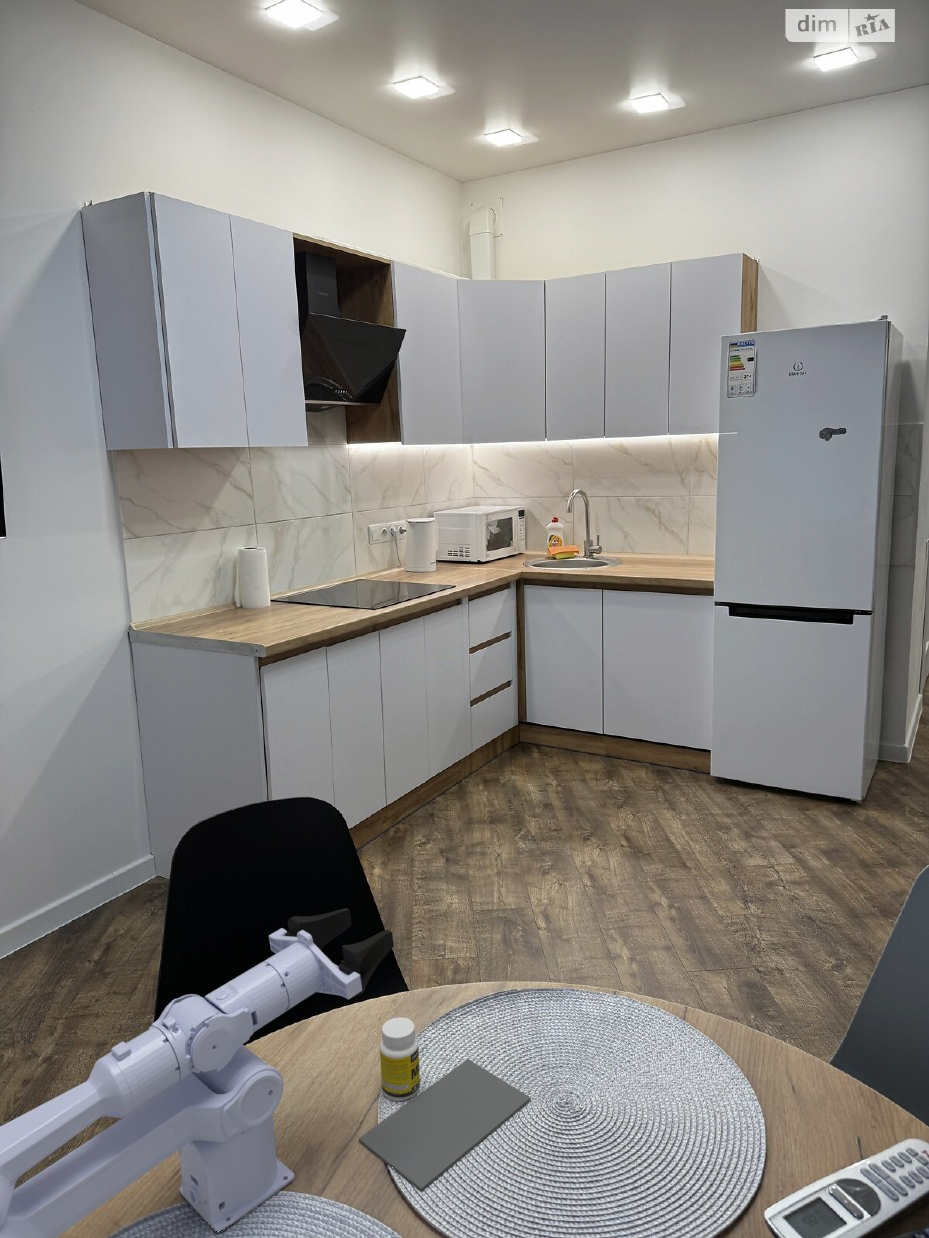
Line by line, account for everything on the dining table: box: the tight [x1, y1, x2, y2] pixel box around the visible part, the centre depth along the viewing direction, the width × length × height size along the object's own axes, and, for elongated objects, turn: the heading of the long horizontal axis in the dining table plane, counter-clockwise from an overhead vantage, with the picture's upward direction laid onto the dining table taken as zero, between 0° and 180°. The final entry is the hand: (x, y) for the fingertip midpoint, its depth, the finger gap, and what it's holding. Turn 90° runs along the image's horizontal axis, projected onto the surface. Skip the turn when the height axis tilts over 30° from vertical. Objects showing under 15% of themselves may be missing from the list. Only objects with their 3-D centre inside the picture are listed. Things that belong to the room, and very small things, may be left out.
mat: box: [358, 1058, 532, 1193], centre depth 104 cm, size 18×10×1 cm, turn 136°
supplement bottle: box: [379, 1016, 421, 1102], centre depth 108 cm, size 5×5×8 cm
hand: (369, 926), depth 105 cm, fingers open, 7 cm apart
